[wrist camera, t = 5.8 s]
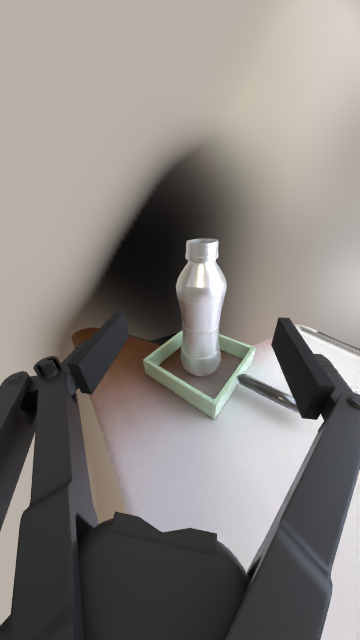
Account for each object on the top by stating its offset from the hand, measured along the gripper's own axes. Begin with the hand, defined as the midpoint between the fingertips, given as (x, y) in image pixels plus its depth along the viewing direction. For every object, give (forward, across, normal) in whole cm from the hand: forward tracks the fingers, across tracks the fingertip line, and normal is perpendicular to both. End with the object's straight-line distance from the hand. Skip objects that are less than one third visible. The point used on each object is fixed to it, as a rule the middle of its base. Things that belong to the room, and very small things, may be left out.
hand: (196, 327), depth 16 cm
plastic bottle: (+10, 0, -14) cm, 17 cm away
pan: (+7, +4, -14) cm, 17 cm away
